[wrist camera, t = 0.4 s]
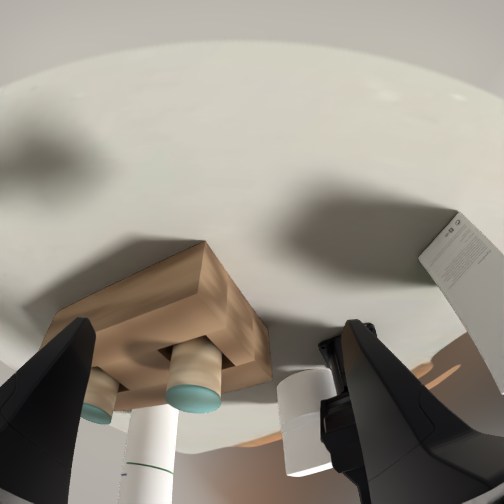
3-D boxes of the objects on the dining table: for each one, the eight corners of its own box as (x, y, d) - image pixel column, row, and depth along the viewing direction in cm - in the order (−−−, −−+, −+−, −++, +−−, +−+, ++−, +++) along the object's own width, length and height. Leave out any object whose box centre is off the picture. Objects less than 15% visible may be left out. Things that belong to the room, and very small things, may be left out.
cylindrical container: (126, 404, 41) (106, 548, 20) (146, 391, 38) (127, 557, 17) (163, 419, 44) (153, 556, 23) (187, 409, 41) (180, 563, 20)
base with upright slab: (301, 406, 41) (311, 478, 32) (262, 388, 37) (268, 473, 28) (353, 382, 38) (372, 458, 28) (319, 360, 34) (337, 452, 24)
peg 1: (129, 375, 28) (119, 423, 23) (105, 380, 29) (94, 425, 24) (102, 354, 26) (87, 404, 21) (79, 360, 26) (64, 406, 22)
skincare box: (415, 255, 26) (496, 397, 13) (461, 205, 22) (569, 329, 10) (451, 288, 28) (515, 403, 16) (490, 247, 25) (569, 353, 13)
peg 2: (231, 348, 25) (230, 408, 20) (191, 360, 26) (186, 416, 21) (205, 321, 23) (200, 384, 18) (164, 334, 24) (154, 394, 19)
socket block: (268, 330, 30) (272, 380, 25) (124, 371, 35) (115, 411, 30) (205, 240, 24) (197, 293, 19) (57, 311, 28) (37, 353, 23)
